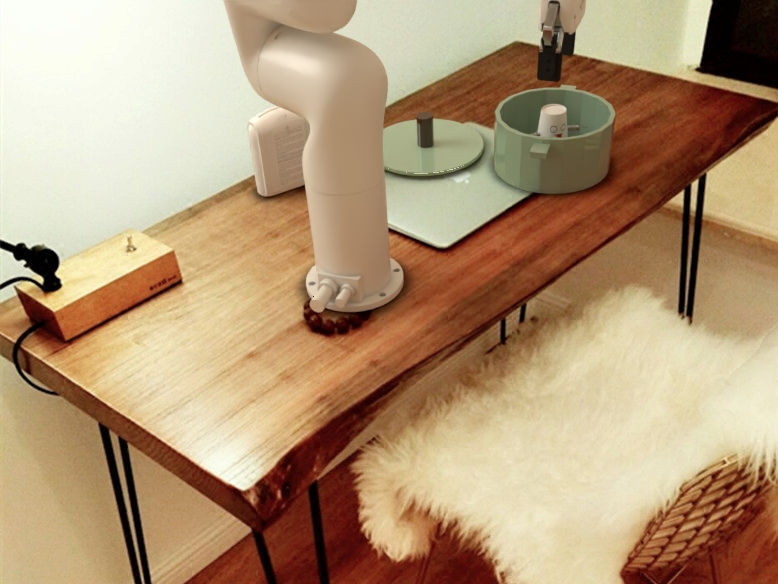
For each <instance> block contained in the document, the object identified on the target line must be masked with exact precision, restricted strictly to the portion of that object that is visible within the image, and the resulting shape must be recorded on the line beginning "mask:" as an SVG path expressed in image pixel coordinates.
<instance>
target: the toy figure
mask: <svg viewBox="0 0 778 584" xmlns="http://www.w3.org/2000/svg"><path fill="white" fill-rule="evenodd" d="M585 127H588V126H584V127H579V126H578V125H576V126H575V125H574V126H573V125H572V126H571V125H570V126H569V125H568V126H567V112H566V107H564V106H562V105H559V104H548V105H545V106H543V107H542V109H541V115H540V120H539V125H538V131H537V133H536V132H535V134H534V133H533V135H535V136H540V137H560V138H564V137H568V133H567V132H578V131H579V128H585ZM531 135H532V134H531Z"/></svg>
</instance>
